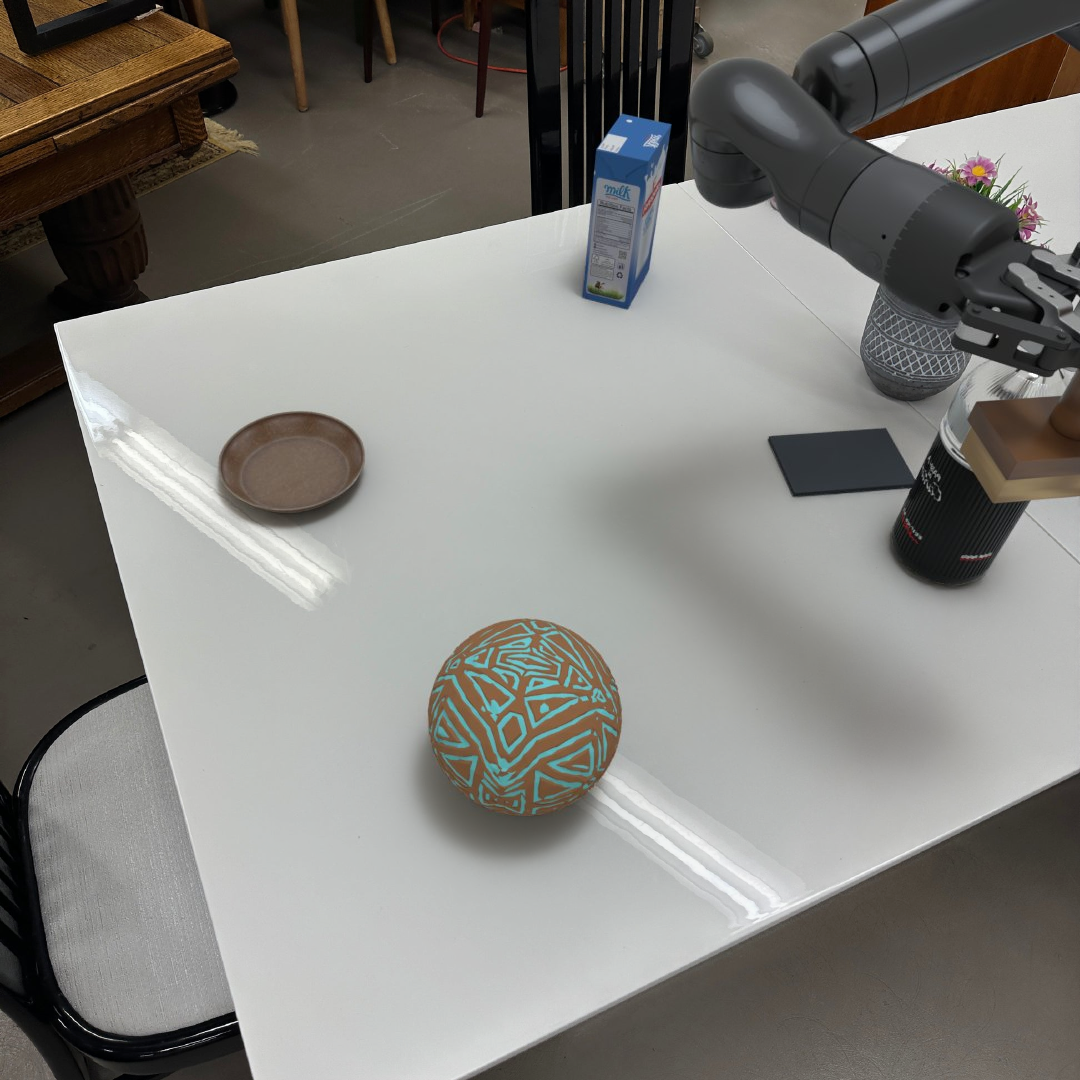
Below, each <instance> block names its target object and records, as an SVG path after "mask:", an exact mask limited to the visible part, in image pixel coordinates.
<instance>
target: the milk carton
mask: <svg viewBox="0 0 1080 1080" xmlns="http://www.w3.org/2000/svg"><path fill="white" fill-rule="evenodd" d="M671 130H672V124H671V123H666V122H662V121H657V120H652V119H648V118H643V117H638V116H634V115H629V114H625V113H621V114H620V115H619V117H618V118H617V120H616V121H615V122H614V124H613V125H612V127H611V128H610V130H609V131H608V132H607V134H606V135H605V137H604V138H603V139H602V141H601V142H600V144H599V145H598V146H597V148H595V149H596V151H595V160H594V172H593V179H592V180H593V181H592V191H591V194H592V195H591V202H590V213H589V225H588V232H587V245H586V255H585V264H584V265H585V266H584V273H583V274H584V276H583V287H582V299H585V300H589V301H594V302H598V303H601V304H604V305H605V304H606V305H610V306H614V307H617V308H622V309H625V310H629V308H630V307H631V304H632V303H633V301H634V299H635V297H636V295H637V293H638V291H639V290H640V288H641V286H642V284H643V282H644V280H645V278H646V277H647V275H648V273H649V271H650V267H651V260H652V253H653V246H654V240H655V234H656V227H657V221H658V220H657V219H658V214H659V207H660V200H661V194H662V187H663V183H664V182H663V181H664V176H665V174H664V173H665V168H666V161H667V155H668V149H669V142H670V135H671Z"/></svg>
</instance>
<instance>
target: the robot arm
mask: <svg viewBox="0 0 1080 1080" xmlns="http://www.w3.org/2000/svg"><path fill="white" fill-rule="evenodd" d="M1052 34H1053V35H1055V36H1056V37H1057V38H1058V39H1060V40H1061V41H1063V42H1065V44H1067V45H1069V46H1070V47H1071V48H1073V49H1074V50H1076V51H1077V52H1078V53H1080V0H897V1H894V2H892V3H890V4H887V5H885V6H884V7H881V8H879V9H877V10H874V11H872V12H870V13H869V14H866V15H865V16H862V17H861V18H859V19H856V20H855V21H853V22H851V23H849V24H847V25H845V26H843V27H841V28H839V29H838V30H835V31H833V32H832V33H829V34H827V35H825V36H823V37H821V38H819V39H817V40H815V41H814V42H813V43H811V44H810V45H808V46H807V47H806V48H805V49H804V50H803V51H802V52H801V54H800V55H799V57H798V59H797V60H796V63H795V65H794V69H793V72H792V75H790V74H789V73H787V72H786V71H785V70H784V69H782V68H781V67H778V66H777V65H776V64H773V63H771V62H768V61H766V60H763V59H760V58H755V57H750V56H749V57H748V56H734V57H728V58H724V59H721V60H718V61H716V62H714V63H712V64H711V65H709V66H707V67H706V68H705V69H704V70H702V72H701V73H700V74H699V75H698V76H697V77H696V79H695V81H694V82H693V84H692V86H691V89H690V92H689V95H688V100H687V121H688V130H689V140H690V153H691V164H692V165H691V166H692V173H693V174H692V175H693V180H694V183H695V187H696V189H697V191H698V193H699V195H700V196H701V197H702V198H703V199H704V201H706V202H708V203H709V204H711V205H713V206H714V207H717V208H721V209H728V210H737V209H746V208H750V207H754V206H757V205H760V204H762V203H765V202H767V201H769V200H771V198H773V197H774V198H775V202H776V206H777V208H778V210H777V211H778V212H779V215H780V216H781V217H782V219H783V220H784V221H785V223H787V224H788V225H789V226H790V227H792V228H793V229H795V230H797V231H798V232H799V233H801V234H803V235H804V236H805V237H807V238H810V239H811V240H812V241H814V242H816V243H818V244H820V245H821V246H822V247H825V248H826V249H828V250H830V251H832V252H833V253H835V254H837V255H838V256H840V258H842V259H843V260H844V261H846V262H847V263H848V264H849V265H850V266H851V267H852V268H854V269H855V270H857V272H860V274H863V275H864V276H865V277H867V278H868V279H871V280H873V281H874V282H876V283H877V284H879V285H880V286H883V287H884V288H886V289H887V290H889V291H891V292H893V293H894V294H895V295H898V296H899V297H900V298H903V299H904V300H906V301H907V302H909V303H911V304H912V305H914V306H916V307H917V308H919V309H921V310H922V311H924V312H926V313H928V314H929V315H931V316H933V317H934V318H936V319H938V320H941V321H942V320H943V321H948V320H953V319H955V318H958V317H960V320H959V322H958V324H957V326H956V328H955V331H954V332H953V335H952V337H951V339H950V342H949V343H950V346H952V348H954V349H955V350H957V351H960V352H964V353H968V354H970V355H973V356H976V357H979V358H983V359H984V360H985V359H986V360H992V361H995V362H998V363H1001V364H1004V365H1007V366H1010V367H1013V368H1017V369H1020V370H1023V371H1026V372H1029V373H1032V374H1035V375H1038V376H1041V377H1052V376H1053V375H1054V373H1055V371H1056V370H1057V369H1062V368H1063V369H1064V370H1065V371H1066V372H1071V373H1075V372H1077V371H1079V370H1080V299H1079V300H1078V302H1077V304H1076V306H1075V308H1074V305H1073V302H1074V300H1075V299H1076V297H1079V298H1080V241H1078V242H1077V243H1076V245H1075V247H1074V249H1073V251H1072V252H1071V253H1063V254H1056V252H1054V251H1053V250H1051V249H1049V248H1046V247H1043V246H1040V245H1039V246H1038V245H1035V244H1032V243H1030V242H1026V241H1024V239H1023V238H1022V236H1021V232H1020V219H1019V216H1018V214H1017V213H1016V211H1014V210H1013V209H1012V208H1010V207H1008V206H1006V205H1004V204H1002V203H1000V202H998V201H996V200H994V199H992V198H990V197H988V196H986V195H984V194H982V193H980V192H978V191H976V190H975V189H972V188H970V187H969V186H966V185H964V184H962V183H960V182H958V181H957V180H955V179H953V178H950V177H948V176H947V175H945V174H943V173H941V172H939V171H937V170H934V169H932V168H931V167H928V166H926V165H923V164H922V163H921V164H920V163H918V162H915V161H912V160H908V159H905V158H902V157H900V156H897V155H895V154H893V153H891V152H889V151H888V150H885V149H883V148H881V147H879V146H877V145H876V144H873V143H872V142H870V141H867V140H865V139H864V138H862V137H860V136H858V135H855V134H853V133H854V132H856V131H857V130H860V129H862V128H864V127H866V126H868V125H870V124H872V123H875V122H877V121H878V120H880V119H882V118H884V117H886V116H888V115H890V114H891V113H894V112H896V111H897V110H900V109H902V108H904V107H906V106H907V105H909V104H911V103H913V102H915V101H917V100H918V99H921V98H923V97H924V96H926V95H927V94H930V93H932V92H934V91H935V90H938V89H940V88H942V87H943V86H945V85H947V84H949V83H951V82H953V81H955V80H956V79H958V78H960V77H963V76H964V75H966V74H968V73H970V72H972V71H974V70H976V69H978V68H980V67H982V66H984V65H985V64H987V63H990V62H991V61H993V60H996V59H998V58H999V57H1002V56H1004V55H1007V54H1008V53H1010V52H1012V51H1014V50H1017V49H1018V48H1021V47H1024V46H1026V45H1027V44H1030V43H1033V42H1035V41H1037V40H1039V39H1042V38H1044V37H1047V36H1049V35H1052ZM997 336H998V337H997ZM1018 347H1021V348H1022V349H1023V350H1021V349H1018ZM1027 352H1029V353H1027ZM1039 353H1040V354H1039ZM1036 354H1039V356H1037V355H1036Z"/></svg>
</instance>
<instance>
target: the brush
mask: <svg viewBox="0 0 1080 1080" xmlns="http://www.w3.org/2000/svg"><path fill="white" fill-rule="evenodd" d="M967 421H968V422H969V424H970V425H971V428H970V430H969V432H968V434H967V436H966V438H965V440H964V442H963V444H962V446H961V448H960V451H961V453H962V454H963V456H964V458H965V459H966V461H967V462H968V464H969V466H970V467H971V469H972V470H973V472H974V474H975V475H976V477H977V478H978V480H979V482H980V483H981V485H982V486H983V488H984V490H985V491H986V493H987V494H988V496H989V498H990V499H991V501H992V502H993V503H1004V502H1016V501H1029V500H1031V501H1040V500H1051V499H1065V498H1075V497H1080V370H1079V371H1077V372H1074V374H1073V376H1072V377H1071V381H1070V382H1069V384H1068V386H1067V387H1066V389H1065V391H1064V393H1063V394H1062V396H1049V397H1034V398H1019V399H1004V400H989V401H977V402H976V403H975V405H974V407H973V409H972V411H971V413H970V415H969V417H968V419H967Z"/></svg>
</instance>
